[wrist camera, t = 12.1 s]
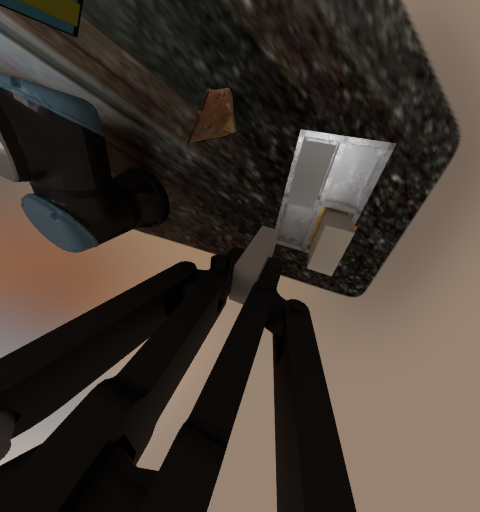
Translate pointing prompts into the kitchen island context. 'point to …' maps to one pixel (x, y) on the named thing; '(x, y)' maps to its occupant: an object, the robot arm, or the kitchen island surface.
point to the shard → (214, 116)
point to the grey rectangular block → (310, 173)
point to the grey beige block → (330, 241)
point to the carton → (50, 12)
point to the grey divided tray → (333, 185)
